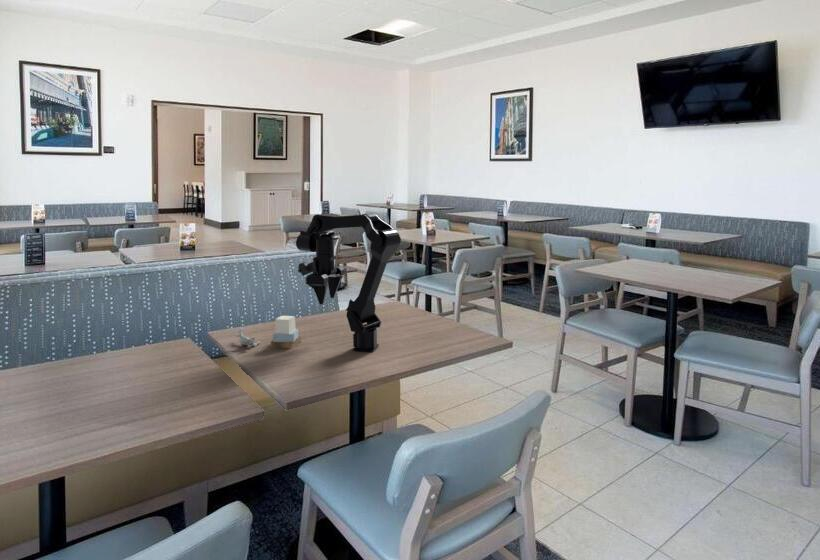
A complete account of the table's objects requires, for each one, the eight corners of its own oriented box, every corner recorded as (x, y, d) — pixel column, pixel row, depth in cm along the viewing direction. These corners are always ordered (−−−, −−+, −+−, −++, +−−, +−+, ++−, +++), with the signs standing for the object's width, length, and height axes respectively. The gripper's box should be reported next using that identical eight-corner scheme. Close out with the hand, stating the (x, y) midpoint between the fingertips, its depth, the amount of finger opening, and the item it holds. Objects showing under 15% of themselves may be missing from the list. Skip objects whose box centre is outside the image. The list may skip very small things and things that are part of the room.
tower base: (301, 343, 188) (300, 336, 188) (291, 350, 181) (291, 342, 181) (281, 342, 190) (281, 335, 189) (271, 348, 183) (270, 341, 183)
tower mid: (298, 335, 188) (297, 328, 188) (293, 341, 182) (293, 334, 181) (278, 336, 188) (277, 328, 188) (273, 341, 182) (272, 334, 181)
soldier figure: (253, 341, 192) (268, 338, 183) (245, 354, 190) (259, 351, 181) (234, 328, 189) (248, 324, 180) (226, 340, 187) (239, 336, 178)
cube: (295, 330, 186) (294, 316, 185) (289, 333, 182) (288, 319, 181) (282, 329, 187) (282, 315, 186) (276, 332, 183) (275, 319, 182)
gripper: (313, 248, 195) (315, 293, 198) (288, 257, 178) (291, 306, 181) (344, 249, 193) (346, 295, 196) (322, 258, 175) (324, 308, 178)
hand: (326, 301), depth 188 cm, fingers open, 9 cm apart
